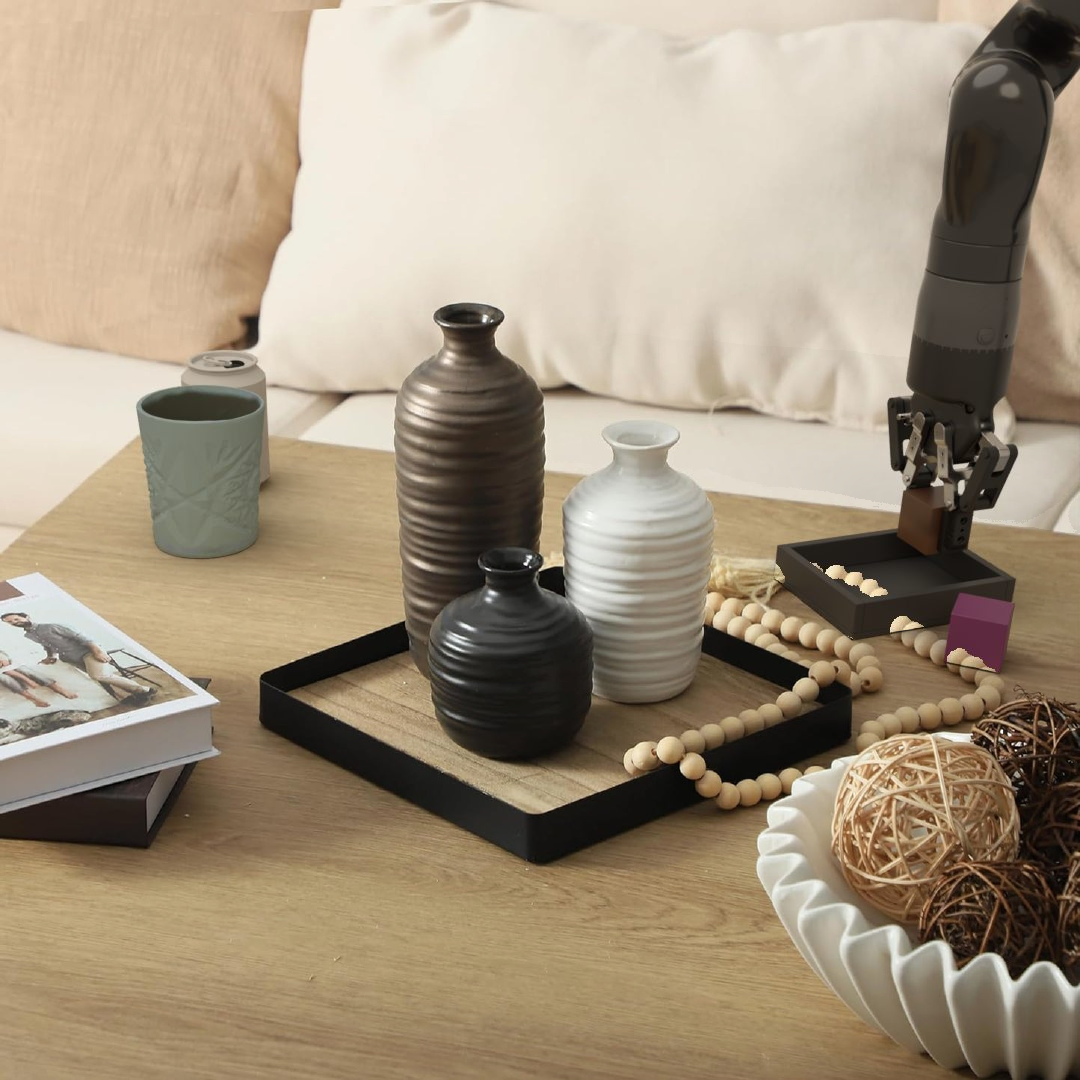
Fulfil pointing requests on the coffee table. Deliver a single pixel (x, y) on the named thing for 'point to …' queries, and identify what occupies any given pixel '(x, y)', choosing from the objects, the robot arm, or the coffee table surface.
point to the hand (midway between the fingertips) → (932, 539)
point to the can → (232, 383)
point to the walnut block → (922, 518)
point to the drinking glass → (202, 467)
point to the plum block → (980, 628)
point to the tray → (886, 581)
